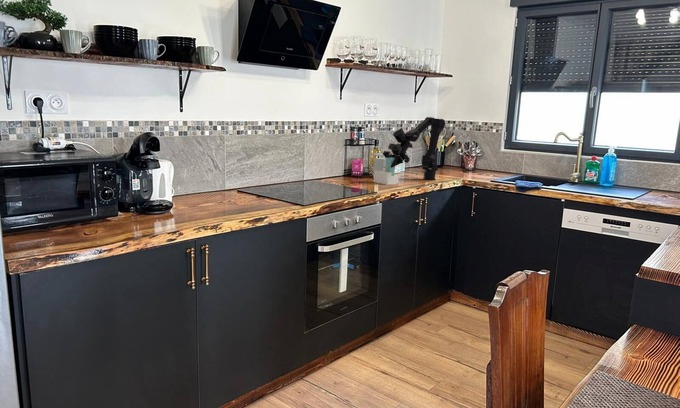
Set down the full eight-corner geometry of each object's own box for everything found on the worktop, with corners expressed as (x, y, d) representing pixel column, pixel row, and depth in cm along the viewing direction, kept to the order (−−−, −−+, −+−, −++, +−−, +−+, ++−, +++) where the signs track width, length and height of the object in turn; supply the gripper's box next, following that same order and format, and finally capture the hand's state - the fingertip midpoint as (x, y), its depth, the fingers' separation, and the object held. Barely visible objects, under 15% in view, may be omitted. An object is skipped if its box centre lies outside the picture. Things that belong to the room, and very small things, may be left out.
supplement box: (382, 178, 324) (383, 159, 321) (372, 177, 328) (373, 158, 326) (388, 177, 330) (389, 158, 327) (378, 176, 334) (379, 157, 332)
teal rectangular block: (389, 177, 309) (390, 157, 307) (394, 177, 306) (395, 158, 304) (383, 177, 306) (383, 157, 304) (387, 178, 303) (388, 158, 301)
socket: (385, 181, 313) (386, 169, 312) (399, 183, 304) (400, 172, 303) (373, 182, 307) (374, 170, 306) (387, 184, 298) (387, 172, 297)
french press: (373, 173, 350) (374, 137, 345) (388, 175, 343) (389, 138, 339) (365, 174, 342) (367, 137, 337) (380, 176, 335) (382, 138, 331)
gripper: (385, 137, 312) (371, 156, 307) (407, 139, 298) (392, 159, 293) (394, 150, 318) (380, 168, 313) (416, 152, 304) (401, 172, 299)
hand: (388, 166), depth 305 cm, fingers closed on teal rectangular block, 4 cm apart
